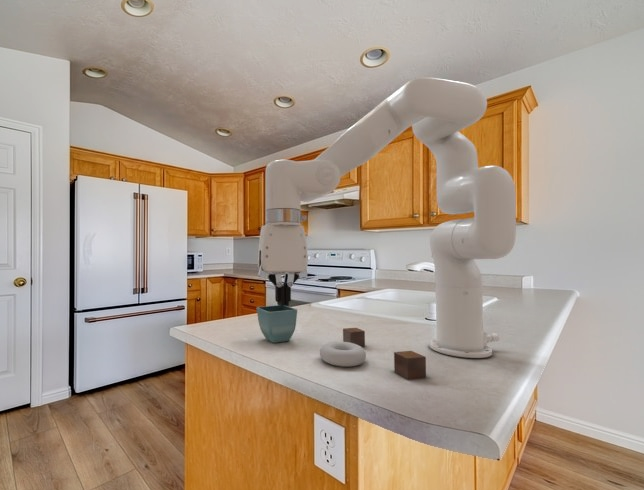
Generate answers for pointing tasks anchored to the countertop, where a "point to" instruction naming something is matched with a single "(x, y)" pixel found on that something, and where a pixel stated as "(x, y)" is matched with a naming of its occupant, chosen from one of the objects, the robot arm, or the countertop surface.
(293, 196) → the robot arm
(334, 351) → the donut
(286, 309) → the flower pot
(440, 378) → the countertop surface
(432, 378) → the countertop surface
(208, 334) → the countertop surface
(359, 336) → the walnut block
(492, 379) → the countertop surface
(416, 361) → the walnut block
